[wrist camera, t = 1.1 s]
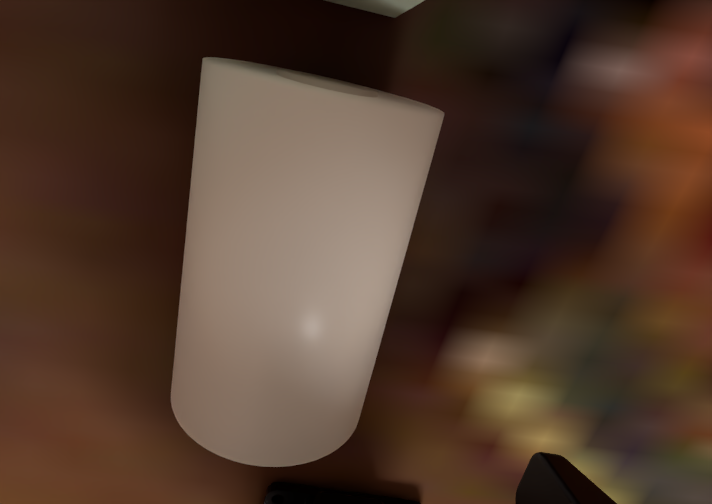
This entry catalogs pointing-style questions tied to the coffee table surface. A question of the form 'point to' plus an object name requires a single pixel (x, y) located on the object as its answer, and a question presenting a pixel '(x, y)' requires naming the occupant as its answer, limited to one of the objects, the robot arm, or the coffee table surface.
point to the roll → (291, 256)
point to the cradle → (381, 5)
